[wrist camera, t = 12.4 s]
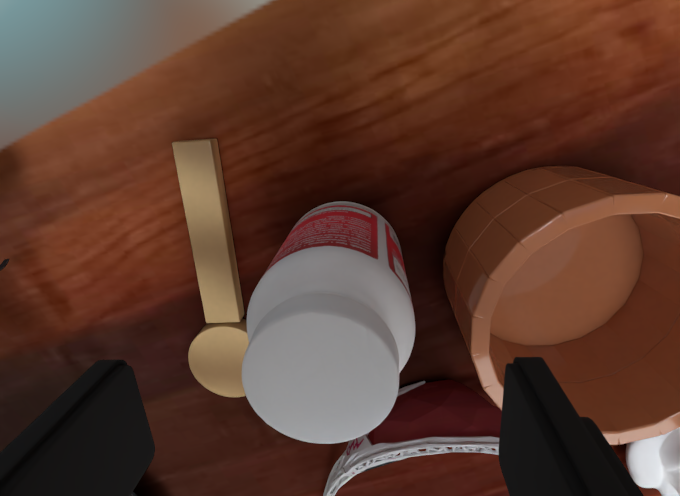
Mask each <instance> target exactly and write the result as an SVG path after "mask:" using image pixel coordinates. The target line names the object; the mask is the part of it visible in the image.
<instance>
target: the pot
mask: <svg viewBox="0 0 680 496" xmlns="http://www.w3.org/2000/svg"><path fill="white" fill-rule="evenodd" d="M443 281H444V287H445V291H446V294H447V297H448V299H449V302H450V305H451V308H452V311H453V314H454V316H455V319H456V321H457V324H458V327H459V329H460V332H461V334H462V337H463V340H464V342H465V345H466V347H467V350H468V352H469V355H470V358H471V360H472V363H473V365H474V368H475V371H476V373H477V376H478V378H479V381H480V384H481V386H482V387H483V389H484V391H485V392H486V393H487V394H488V395H489V397H490V398H491V399H492V400H493V401H494V403H495V404H496V405H497V406H498V407H499V408H500V410H501V411H502V403H503V390H504V378H505V367H506V364H507V363H513V361H514V358H515V357H542V358H543V359H544V361H545V362H546V364H547V365H548V367H549V369H550V370H551V372H552V373H553V375H554V377H555V378H556V380H557V381H558V383H559V385H560V386H561V388H562V389H563V391H564V392H565V394H566V396H567V397H568V399H569V400H570V402H571V404H572V405H573V407H574V408H575V410H576V412H577V413H578V415H579V416H580V417H589V418H590V419H592V420H593V421H594V422H595V424H596V425H597V426H598V428H599V429H600V431H601V432H602V434H603V435H604V437H605V438H606V440H607V441H608V443H609V444H610V445H618V444H619V445H622V444H626V443H630V442H635V441H639V440H644V439H648V438H652V437H657V436H660V435H661V434H662V435H665V434H667V433H669V432H671V431H673V430H675V429H677V428H679V427H680V195H676V194H673V193H670V192H666V191H663V190H659V189H656V188H652V187H649V186H645V185H642V184H638V183H635V182H631V181H628V180H625V179H621V178H618V177H614V176H611V175H607V174H603V173H600V172H596V171H592V170H589V169H585V168H581V167H575V166H574V167H573V166H545V167H538V168H534V169H529V170H525V171H522V172H520V173H517V174H514V175H511V176H509V177H507V178H505V179H503V180H501V181H499V182H498V183H496V184H494V185H493V186H491V187H490V188H489V189H487V190H486V191H484V192H483V193H482V194H481V195H480V196H478V197H477V198H476V199H475V200H474V201H473V202H472V203H471V204H470V205H469V206H468V208H467V209H466V210H465V211H464V212H463V214H462V215H461V217H460V218H459V219H458V221H457V222H456V224H455V226H454V228H453V230H452V232H451V234H450V237H449V239H448V242H447V245H446V249H445V253H444V259H443Z"/></svg>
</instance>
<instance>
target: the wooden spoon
mask: <svg viewBox="0 0 680 496" xmlns="http://www.w3.org/2000/svg"><path fill="white" fill-rule="evenodd" d="M172 147H173V153H174V158H175V163H176V168H177V173H178V179H179V184H180V189H181V194H182V199H183V205H184V210H185V215H186V220H187V226H188V231H189V236H190V241H191V246H192V252H193V257H194V262H195V267H196V272H197V278H198V283H199V288H200V293H201V299H202V304H203V309H204V314H205V319H206V323H208V324H206V325H205V326H204V327H203V328H202V330H201V331H200V332H199V333H198V335H197V336H196V337H195V339H194V340H193V341H192V343H191V345H190V348H189V353H188V360H189V365H190V369H191V371H192V373H193V375H194V376H195V378H196V379H197V380H198V381H199V382H200V383H201V384H202V385H203V386H204V387H205V388H207V389H208V390H210V391H212V392H214V393H216V394H219V395H222V396H227V397H242V396H246V394H245V391H244V388H243V383H242V363H243V358H244V355H245V352H246V350H247V347H248V345H249V340H248V334H247V320H245V319H242V318H243V316H244V314H245V313H244V307H243V300H242V294H241V288H240V281H239V275H238V269H237V262H236V256H235V249H234V243H233V237H232V230H231V224H230V218H229V211H228V205H227V199H226V192H225V186H224V179H223V173H222V167H221V160H220V154H219V148H218V141H217V139H216V138H215V139H200V140H185V141H176V142H172Z"/></svg>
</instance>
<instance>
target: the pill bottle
mask: <svg viewBox="0 0 680 496" xmlns="http://www.w3.org/2000/svg"><path fill="white" fill-rule="evenodd" d="M247 334H248V340H249V345H248V347H247V350H246V352H245V355H244V358H243V363H242V383H243V388H244V391H245V394H246V397H247V399H248V401H249V403H250V404H251V406H252V407H253V409H254V411H255V412H256V413H257V414H258V415H259V416H260V417H261V418H262V419H263V420H264V421H265V422H266V423H267V424H268V425H270V426H271V427H273V428H274V429H276V430H277V431H279V432H281V433H283V434H285V435H287V436H289V437H291V438H294V439H298V440H301V441H305V442H310V443H320V444H333V443H341V442H345V441H349V440H353V439H356V438H358V437H360V436H363V435H365V434H367V433H368V432H370V431H371V430H373V429H374V428H376V427H377V426H378V425H380V424H381V422H382V421H383V420H384V419H385V418H386V417H387V416H388V414H389V413H390V411H391V410H392V408H393V406H394V403H395V401H396V398H397V395H398V389H399V373H400V372H401V370H402V369H403V367H404V366H405V364H406V363H407V361H408V359H409V357H410V354H411V351H412V348H413V344H414V339H415V317H414V308H413V304H412V300H411V296H410V291H409V286H408V281H407V276H406V271H405V267H404V262H403V257H402V251H401V247H400V244H399V241H398V238H397V236H396V234H395V232H394V230H393V228H392V227H391V225H390V224H389V223H388V222H387V221H386V220H385V219H384V218H383V217H382V216H381V215H380V214H379V213H377V212H376V211H374V210H373V209H371V208H369V207H367V206H364V205H361V204H358V203H354V202H347V201H338V202H331V203H326V204H323V205H320V206H318V207H316V208H314V209H312V210H311V211H309V212H308V213H306V214H305V215H304V216H303V217H302V218H301V219H300V220H299V221H298V222H297V223H296V225H295V226H294V227H293V229H292V230H291V232H290V233H289V235H288V237H287V238H286V240H285V241H284V243H283V244H282V246H281V247H280V249H279V251H278V252H277V254H276V255H275V257H274V259H273V260H272V262H271V264H270V265H269V267H268V268H267V270H266V271H265V273H264V275H263V276H262V278H261V279H260V281H259V282H258V284H257V286H256V288H255V290H254V292H253V294H252V296H251V299H250V303H249V306H248V311H247Z"/></svg>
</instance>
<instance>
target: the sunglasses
mask: <svg viewBox="0 0 680 496" xmlns="http://www.w3.org/2000/svg"><path fill="white" fill-rule="evenodd" d="M501 415H502V411H501V410H500V408H498V407H495V406H493V405H491V404H490V403H489V402H488V401H486V400H485V399H484V398H483V397H481V396H480V395H479V394H478V393H476V392H475V391H473V390H471V389H470V388H468V387H467V386H465V385H463V384H462V383H459V382H456V381H453V380H450V379H449V380H442V381H435V382H428V383H425V381H422V382H419V383H416V384H413V385H409V386H406V387H403V388H401V389H399V390H398V395H397V398H396V401H395V403H394V406H393V408H392V410H391V411H390V413H389V414H388V416H387V417H386V418H385V419H384V420H383V421H382V422H381V424H380V425H378V426H377V427H376V428H374V429H373V430H371V431H370V432H368V433H367V434H365V435H363V436H360V437H358V438H356V439H353V440H349V443H348V446H347V449H346V451H345V452H344V453H343V454H342V456H341V457H340V458H339V459H338V461H337V462H336V463H335V464H334V466H333V468H332V471H331V473H330V475H329V478H328V481H327V484H326V488H325V491H324V494H323V496H335V494H336V492H337V491H338V489H339V488H340V487H341V486H342V485H344V484H345V483H346V482H347V481H349V480H350V479H351V478H352V477H353V476H355V475H356V474H358V473H361V472H364V471H367V470H370V469H373V468H376V467H380V466H383V465H386V464H389V463H392V462H395V461H398V460H402V459H405V458H408V457H413V456H422V455H431V454H440V453H449V452H482V453H489V454H496V455H499V439H500V427H501ZM439 447H441V448H440V449H438V448H439ZM447 447H452V449H448V448H447ZM460 447H462V448H463V449H460ZM426 448H427V449H426ZM480 448H482V449H480ZM491 448H495V449H496V451H493V450H492V449H491ZM418 449H426V451H422V452H420V451H419V450H418ZM443 449H444V450H443ZM471 449H472V450H471ZM479 449H480V450H479ZM429 450H431V451H429ZM405 451H408V452H405ZM412 452H413V453H412ZM398 453H400V456H396V455H397V454H398ZM339 462H340V464H339ZM365 463H366V465H363V464H365ZM337 466H338V468H337ZM345 476H346V477H345Z"/></svg>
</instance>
